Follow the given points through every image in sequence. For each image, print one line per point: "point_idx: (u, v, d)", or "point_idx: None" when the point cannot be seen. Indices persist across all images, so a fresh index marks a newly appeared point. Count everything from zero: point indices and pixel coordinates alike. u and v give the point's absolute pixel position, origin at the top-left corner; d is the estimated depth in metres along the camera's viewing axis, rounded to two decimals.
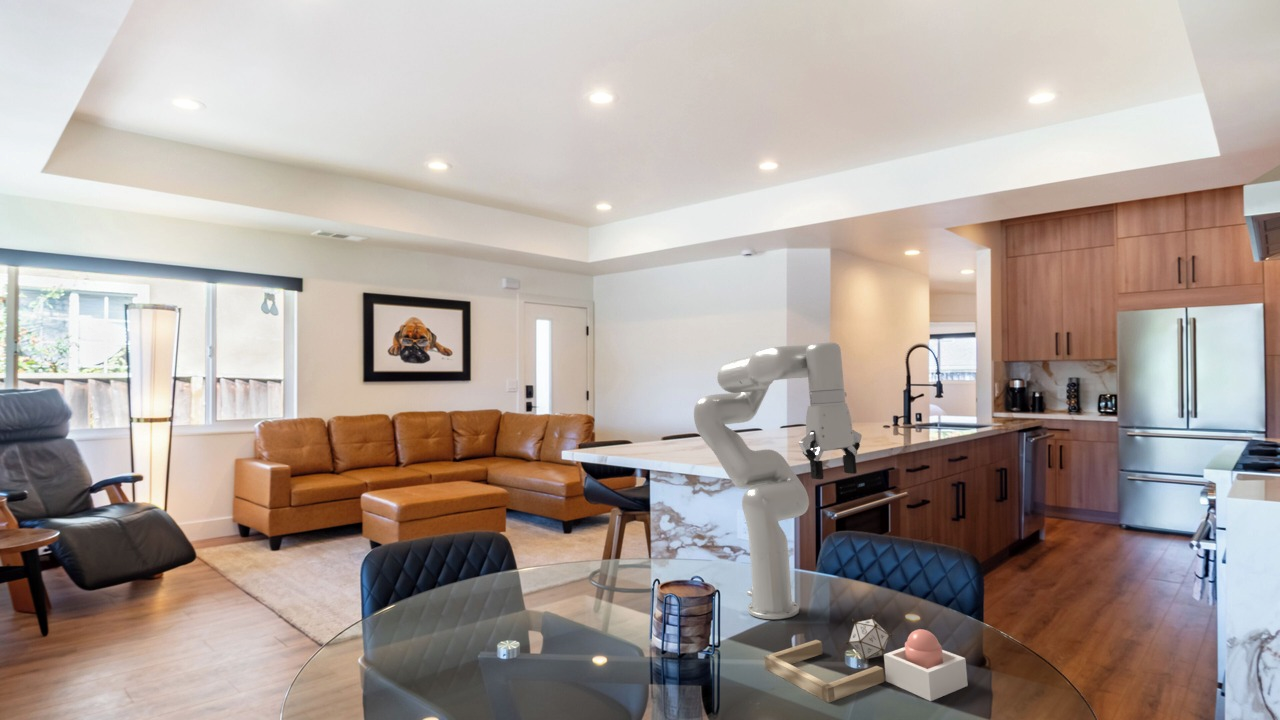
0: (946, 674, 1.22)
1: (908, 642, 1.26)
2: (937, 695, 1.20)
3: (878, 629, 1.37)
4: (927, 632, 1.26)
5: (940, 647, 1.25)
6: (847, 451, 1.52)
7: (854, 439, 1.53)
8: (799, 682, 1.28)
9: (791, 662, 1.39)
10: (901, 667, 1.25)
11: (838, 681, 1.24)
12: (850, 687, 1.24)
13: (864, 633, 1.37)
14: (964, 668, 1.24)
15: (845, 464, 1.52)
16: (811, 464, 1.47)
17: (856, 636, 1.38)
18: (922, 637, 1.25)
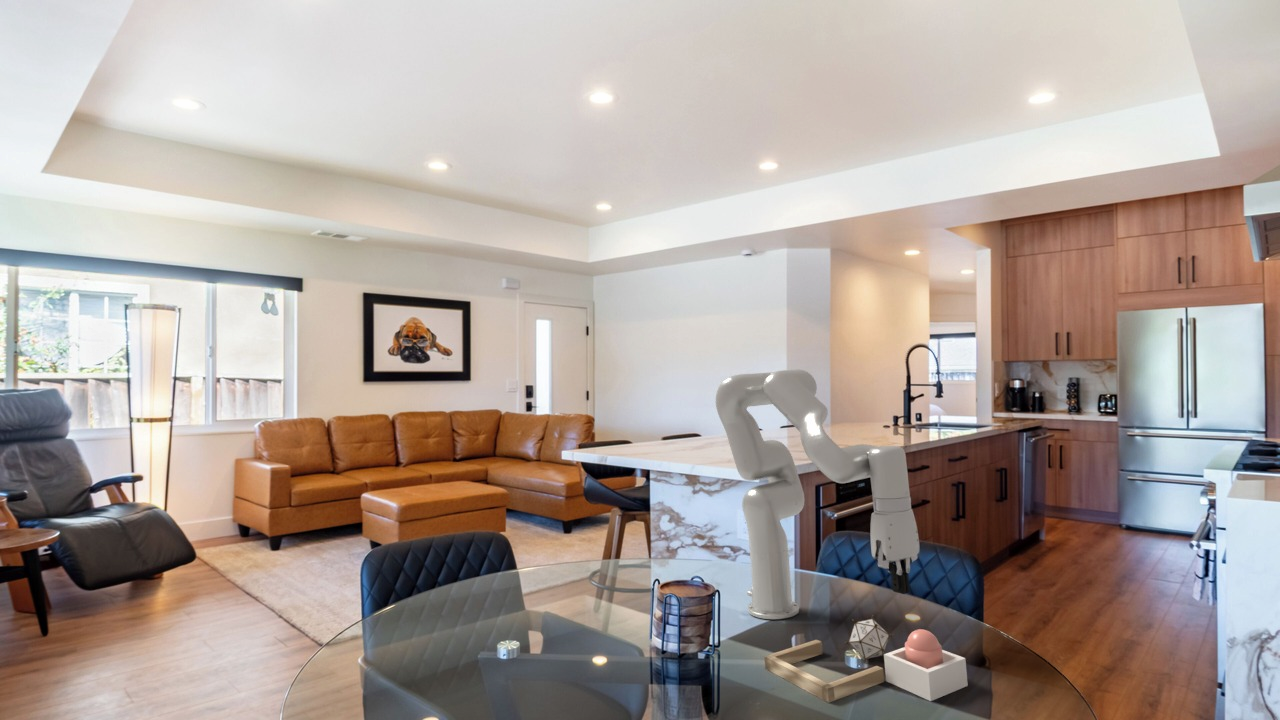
0: (946, 674, 1.22)
1: (908, 642, 1.26)
2: (937, 695, 1.20)
3: (878, 629, 1.37)
4: (927, 632, 1.26)
5: (940, 647, 1.25)
6: None
7: None
8: (799, 682, 1.28)
9: (791, 662, 1.39)
10: (901, 667, 1.25)
11: (838, 681, 1.24)
12: (850, 687, 1.24)
13: (864, 633, 1.37)
14: (964, 668, 1.24)
15: None
16: (893, 578, 1.43)
17: (856, 636, 1.38)
18: (922, 637, 1.25)
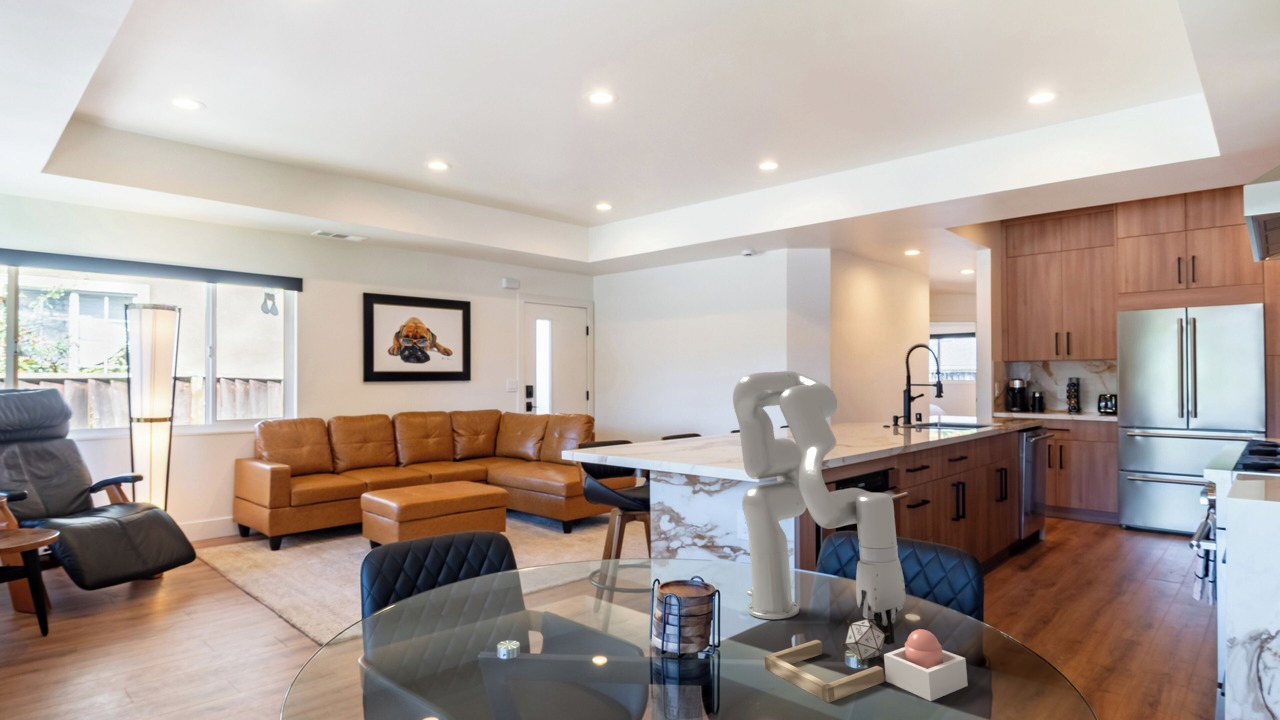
0: (946, 674, 1.22)
1: (908, 642, 1.26)
2: (937, 695, 1.20)
3: (873, 629, 1.36)
4: (927, 632, 1.26)
5: (940, 647, 1.25)
6: (885, 615, 1.42)
7: None
8: (799, 682, 1.28)
9: (791, 662, 1.39)
10: (901, 667, 1.25)
11: (838, 681, 1.24)
12: (850, 687, 1.24)
13: (860, 634, 1.36)
14: (964, 668, 1.24)
15: None
16: None
17: (852, 638, 1.37)
18: (922, 637, 1.25)
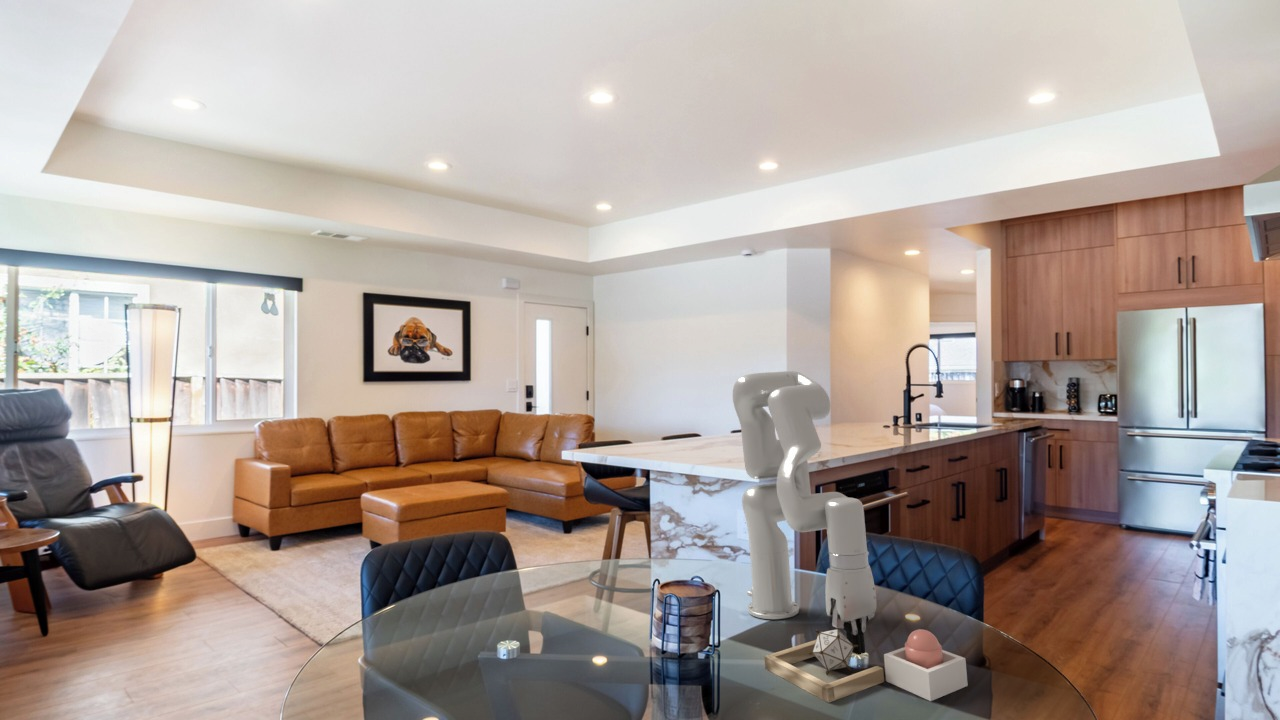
0: (946, 674, 1.22)
1: (908, 642, 1.26)
2: (937, 695, 1.20)
3: (841, 640, 1.32)
4: (927, 632, 1.26)
5: (940, 647, 1.25)
6: (856, 624, 1.38)
7: None
8: (799, 682, 1.28)
9: (791, 662, 1.39)
10: (901, 667, 1.25)
11: (838, 681, 1.24)
12: (850, 687, 1.24)
13: (826, 644, 1.32)
14: (964, 668, 1.24)
15: None
16: (848, 637, 1.36)
17: (818, 647, 1.34)
18: (922, 637, 1.25)
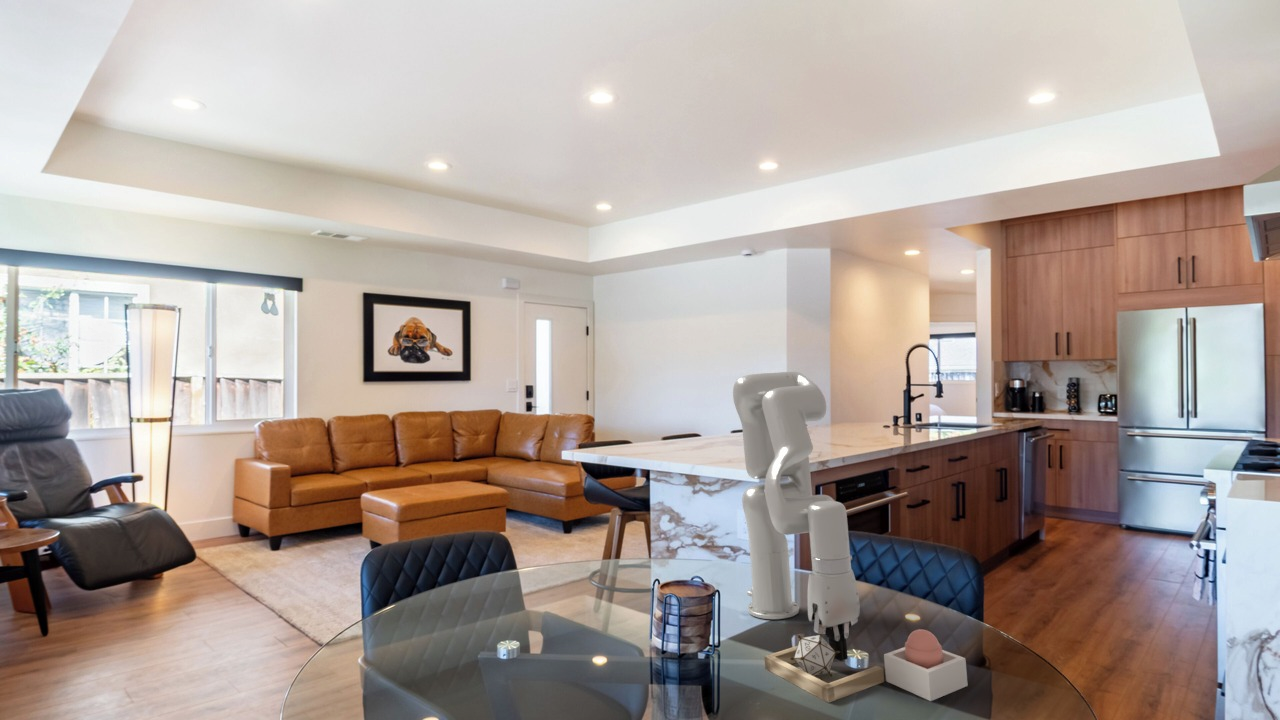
0: (946, 674, 1.22)
1: (908, 642, 1.26)
2: (937, 695, 1.20)
3: (822, 646, 1.30)
4: (927, 632, 1.26)
5: (940, 647, 1.25)
6: (838, 629, 1.35)
7: None
8: (799, 682, 1.28)
9: (791, 662, 1.39)
10: (901, 667, 1.25)
11: (838, 681, 1.24)
12: (850, 687, 1.24)
13: (808, 650, 1.30)
14: (964, 668, 1.24)
15: None
16: (830, 643, 1.34)
17: (799, 653, 1.32)
18: (922, 637, 1.25)
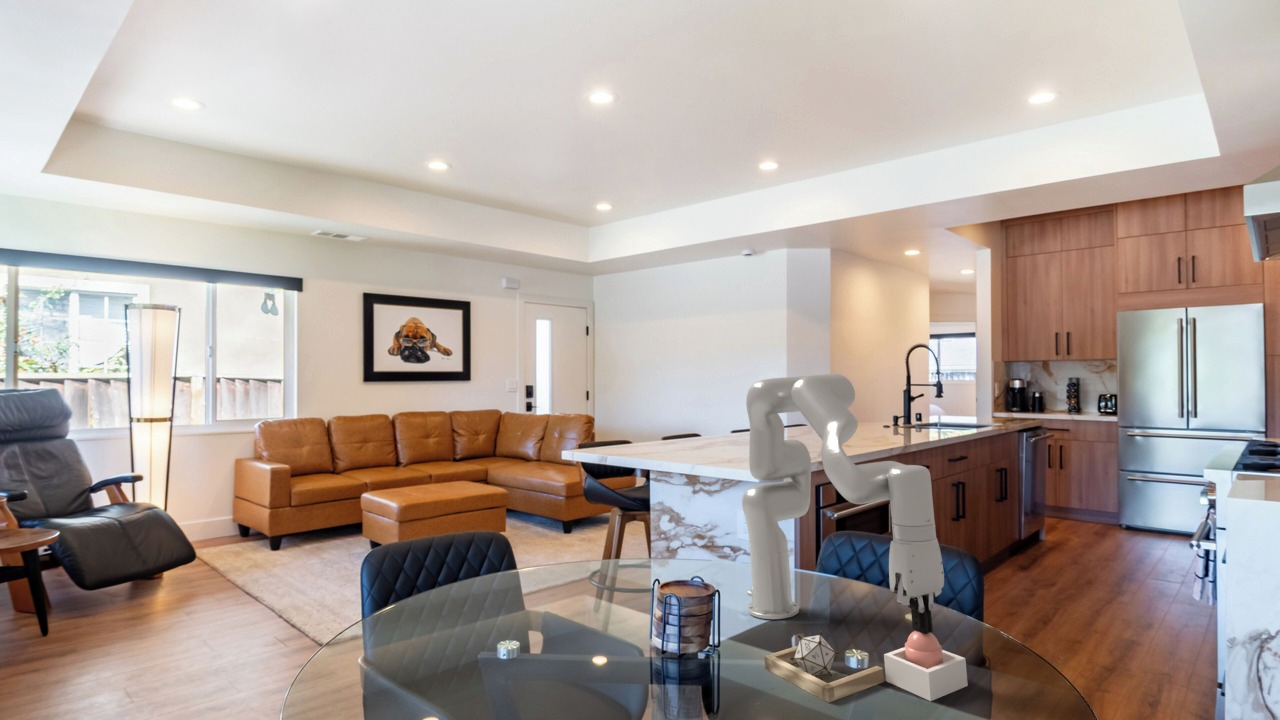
0: (946, 674, 1.22)
1: (908, 642, 1.26)
2: (937, 695, 1.20)
3: (822, 646, 1.30)
4: None
5: (940, 647, 1.25)
6: None
7: None
8: (799, 682, 1.28)
9: (791, 662, 1.39)
10: (901, 667, 1.25)
11: (838, 681, 1.24)
12: (850, 687, 1.24)
13: (808, 650, 1.30)
14: (964, 668, 1.24)
15: None
16: (914, 615, 1.26)
17: (800, 653, 1.32)
18: (922, 638, 1.25)
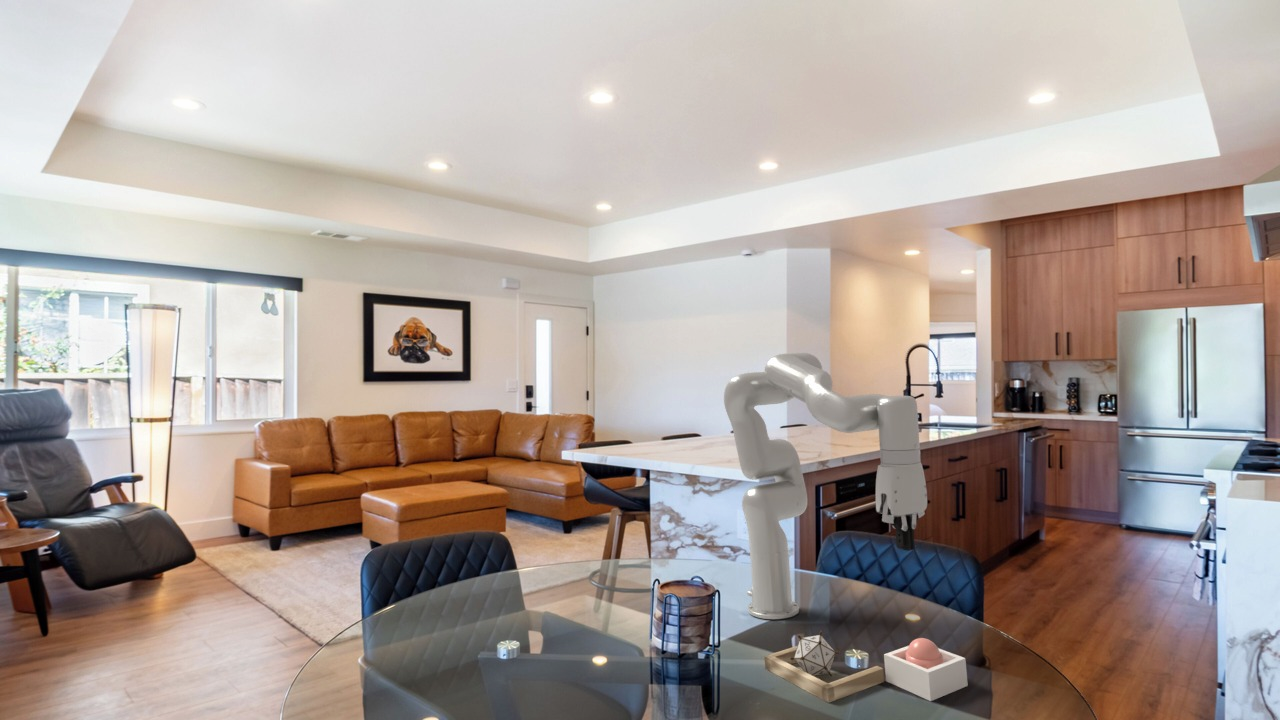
0: (946, 674, 1.22)
1: (909, 651, 1.26)
2: (937, 695, 1.20)
3: (822, 646, 1.30)
4: (928, 641, 1.26)
5: (941, 656, 1.25)
6: None
7: None
8: (799, 682, 1.28)
9: (791, 662, 1.39)
10: (901, 667, 1.25)
11: (838, 681, 1.24)
12: (850, 687, 1.24)
13: (808, 650, 1.30)
14: (964, 668, 1.24)
15: None
16: (898, 534, 1.36)
17: (800, 653, 1.32)
18: (923, 646, 1.25)
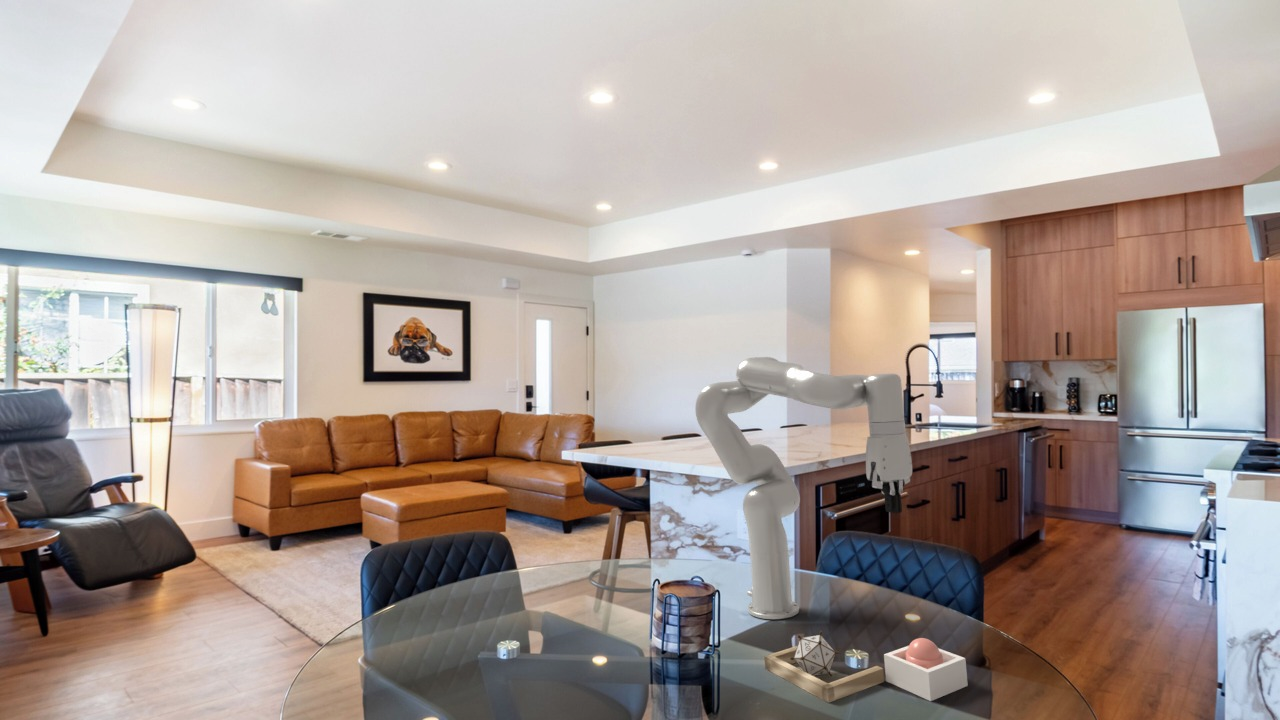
0: (946, 674, 1.22)
1: (909, 651, 1.26)
2: (937, 695, 1.20)
3: (822, 646, 1.30)
4: (928, 641, 1.26)
5: (941, 656, 1.25)
6: None
7: None
8: (799, 682, 1.28)
9: (791, 662, 1.39)
10: (901, 667, 1.25)
11: (838, 681, 1.24)
12: (850, 687, 1.24)
13: (808, 650, 1.30)
14: (964, 668, 1.24)
15: None
16: (886, 498, 1.50)
17: (800, 653, 1.32)
18: (923, 646, 1.25)
